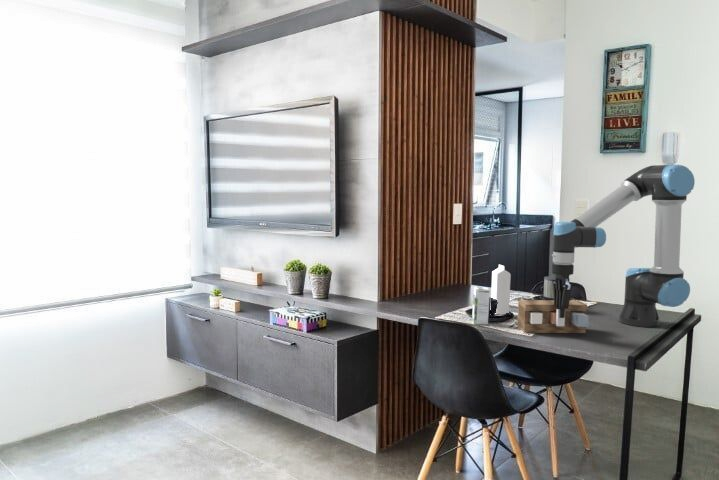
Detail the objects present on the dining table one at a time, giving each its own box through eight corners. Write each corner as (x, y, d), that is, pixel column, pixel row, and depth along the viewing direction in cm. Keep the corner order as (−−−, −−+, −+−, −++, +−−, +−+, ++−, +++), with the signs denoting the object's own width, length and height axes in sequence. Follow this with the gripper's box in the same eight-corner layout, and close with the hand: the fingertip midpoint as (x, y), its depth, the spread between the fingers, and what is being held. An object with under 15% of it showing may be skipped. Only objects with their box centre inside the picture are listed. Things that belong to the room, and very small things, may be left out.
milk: (503, 313, 243) (505, 264, 241) (508, 317, 237) (511, 266, 235) (489, 314, 242) (492, 264, 240) (495, 317, 236) (497, 266, 234)
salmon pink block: (553, 318, 219) (553, 308, 218) (562, 324, 210) (563, 313, 209) (543, 318, 219) (543, 308, 218) (552, 323, 210) (552, 313, 209)
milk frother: (567, 312, 248) (569, 279, 247) (536, 313, 245) (537, 280, 243) (549, 305, 262) (551, 274, 261) (519, 306, 258) (521, 274, 257)
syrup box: (471, 321, 229) (472, 286, 227) (486, 321, 228) (487, 286, 227) (474, 324, 223) (475, 289, 222) (488, 324, 223) (490, 289, 221)
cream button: (533, 318, 218) (533, 308, 218) (542, 323, 209) (542, 313, 209) (523, 318, 218) (523, 308, 218) (531, 323, 209) (532, 313, 209)
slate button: (577, 320, 215) (578, 310, 215) (588, 326, 206) (588, 316, 206) (567, 320, 215) (568, 310, 215) (577, 326, 206) (578, 316, 206)
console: (576, 327, 221) (577, 300, 220) (585, 332, 213) (587, 304, 212) (517, 327, 219) (518, 300, 218) (524, 332, 212) (525, 304, 210)
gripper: (546, 261, 212) (543, 321, 214) (560, 265, 199) (557, 330, 201) (565, 261, 212) (562, 321, 214) (580, 265, 199) (577, 330, 202)
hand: (560, 325), depth 208 cm, fingers closed
